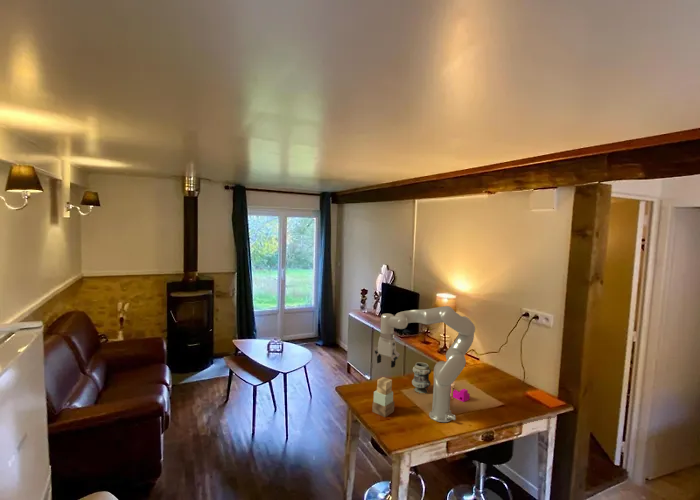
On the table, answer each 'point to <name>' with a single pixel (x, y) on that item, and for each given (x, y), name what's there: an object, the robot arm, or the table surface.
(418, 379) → the apothecary jar
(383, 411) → the walnut base block
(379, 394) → the sage top block
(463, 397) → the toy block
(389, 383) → the oak block
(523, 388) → the table surface
